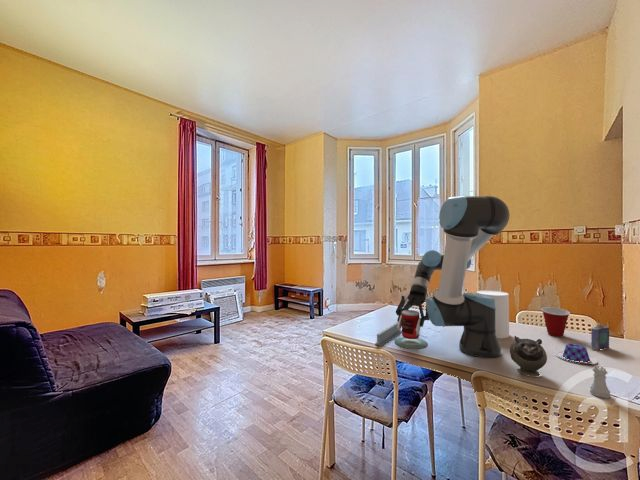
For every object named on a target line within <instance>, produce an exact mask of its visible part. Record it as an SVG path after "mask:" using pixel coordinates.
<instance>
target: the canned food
mask: <svg viewBox="0 0 640 480" xmlns="http://www.w3.org/2000/svg"><path fill="white" fill-rule="evenodd" d="M419 318H420V311H417V310H413V309H409V310H404V311H402V326H401V330H402V333H401V336H402V337H404V338H407V339H417V338H420V333H419V334H417V333H416V327H417V323H418V319H419Z"/></svg>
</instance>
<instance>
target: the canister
mask: <svg viewBox="0 0 640 480" xmlns="http://www.w3.org/2000/svg"><path fill="white" fill-rule="evenodd" d="M475 292H476V293H475V294H479V295H484V296H488V297H491V298H493V299H494V301H495V308H496V310H495V327H496V329H495V330H496V337H497V339H508V338H509V337H510V296H509V295H510V294H509V293H508V292H505V291H501V290H500V291H498V290H483V289H482V290H478V291H475ZM507 337H508V338H507Z"/></svg>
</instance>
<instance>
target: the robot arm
mask: <svg viewBox="0 0 640 480" xmlns="http://www.w3.org/2000/svg"><path fill="white" fill-rule="evenodd" d="M438 215H439V216H438V218H439V225H440V227H441V228H442V229H443V233H444V234H445V235H446V240H445V244H444V245H445V246H444V252H443V253H440V252H439V251H437V250H434V249H428V250H426V252H425V253H424V254H423V255H422V258H421V260H420V261H419V262H418V264H417V266H416V270H415V274H414V277H413V279H412V280H413V281H412V282H411V287H410V291H409V294H408V295H407V296H405V295H401V299H400V302H399V304H398V306H397V307H396V310H395V314H396V316H398V317H397V322H398V326H397V328H398V330H402V311H404V310H410V309H411V308H412V307H413V306H414V307H418V310H419V316H420V317H419V319H418V323H417V327H416V333H417V334H420V331H421V327H422V328H423V327H424V324H425V321H430V323H431V324H432V325H433V326H435V327H443V328H445V327H463V331H462V333H461V336H460V339H459V343H458V345H459V347H458V348H459V350H460V351H462V352H463V353H465V354H467V355H470V356H473V357H474V356H475V357H478V358H488V359H489V358H490V359H491V358H498V357H500V356H501V355H502V348H501V344H500V343H499V342H500V341H499V338H497V337H496V330H495V329H496V327H495V310H496V308H495V301H494V299H493V298H491V297H488V296H484V295H479V294H477V293H471V292H464V293H463V292H462V291H463V288H464V281H465V278H466V273H467V270H468V269H469V268H470V267H471V265H472V258H473V257H474V256H475V254H477V253H478V252H479V251H480V250H481V249H482V248H483V247H484V246H485V244H487V243H488V242H489V241H490V239H491V238H492V237H493V236H497V235H499V234H500V233H501V232H502V231H503V230H504V229H505V228H506V227H507V225H508V223H509V221H510V217H511V216H510V215H511V214H510V209H509V207H508V205H507V204H506V202H504V201H503V200H502V199H501V198H498V197H495V196H492V195H485V196H479V195H478V196H476V195H475V196H474V195H473V196H471V195H465V196H463V195H459V196H450V197H448V198H447V199H446V200H445V201H444V202H443V203H442V205H441V207H440V211H439V214H438ZM435 271H441V272H440V277H439V283H438V288H437V289H435V290H434V291H433V294H432V296H430V297H428V298H426V296H427V293H428V290H429V285H430V282H431V278H432V276H433V274H434V272H435ZM424 303H425V314H424V310H423V304H424Z"/></svg>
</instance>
